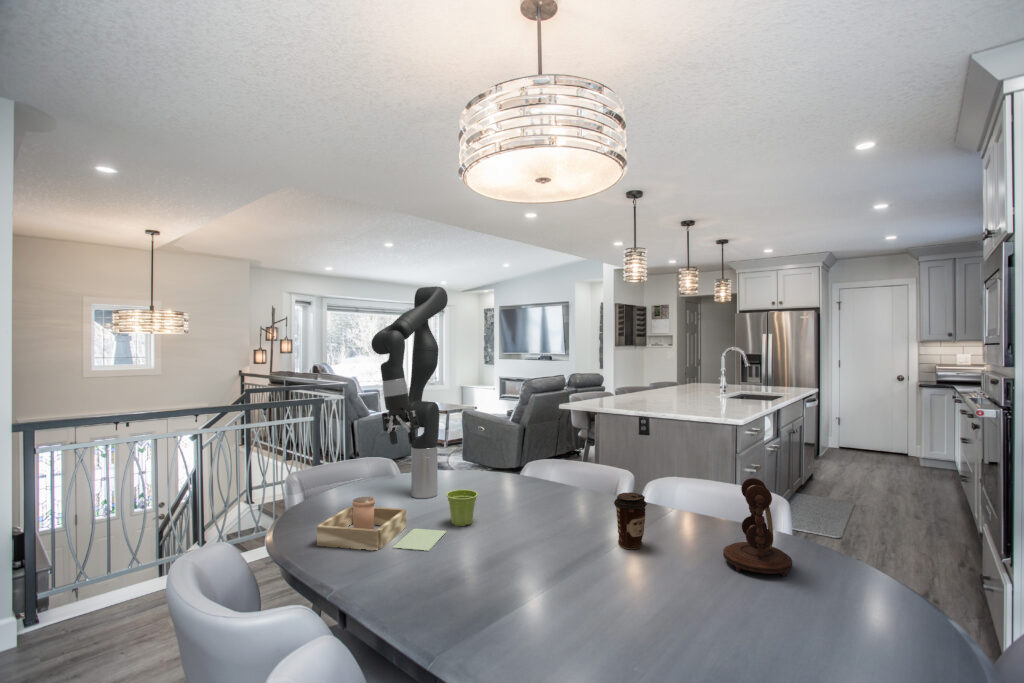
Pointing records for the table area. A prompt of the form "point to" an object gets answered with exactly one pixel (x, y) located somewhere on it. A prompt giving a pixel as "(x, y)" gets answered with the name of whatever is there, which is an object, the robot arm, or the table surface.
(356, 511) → the seedling pot
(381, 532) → the frame
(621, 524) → the coffee cup
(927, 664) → the table surface
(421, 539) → the green mat
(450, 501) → the plant pot
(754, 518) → the brown wooden stand
